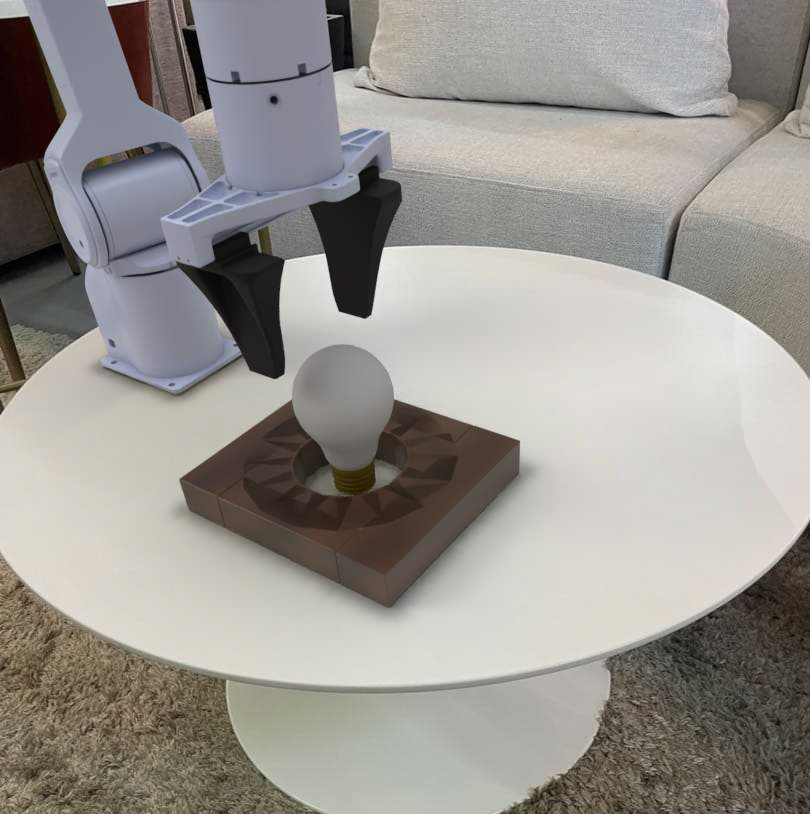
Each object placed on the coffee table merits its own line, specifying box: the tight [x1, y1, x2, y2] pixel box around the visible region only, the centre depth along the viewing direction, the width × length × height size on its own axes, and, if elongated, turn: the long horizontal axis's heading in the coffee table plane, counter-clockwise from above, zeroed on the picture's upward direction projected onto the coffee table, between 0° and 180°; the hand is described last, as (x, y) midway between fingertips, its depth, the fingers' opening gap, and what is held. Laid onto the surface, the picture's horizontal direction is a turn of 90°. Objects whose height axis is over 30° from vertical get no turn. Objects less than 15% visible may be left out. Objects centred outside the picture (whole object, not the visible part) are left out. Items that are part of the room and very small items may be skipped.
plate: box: [178, 398, 521, 608], centre depth 51 cm, size 16×14×2 cm
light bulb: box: [291, 343, 395, 496], centre depth 48 cm, size 6×6×10 cm
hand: (313, 341), depth 45 cm, fingers open, 7 cm apart
